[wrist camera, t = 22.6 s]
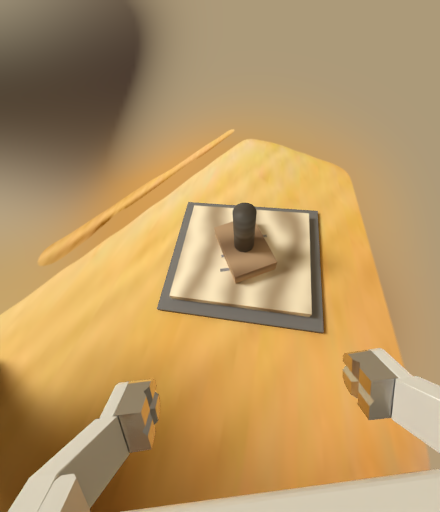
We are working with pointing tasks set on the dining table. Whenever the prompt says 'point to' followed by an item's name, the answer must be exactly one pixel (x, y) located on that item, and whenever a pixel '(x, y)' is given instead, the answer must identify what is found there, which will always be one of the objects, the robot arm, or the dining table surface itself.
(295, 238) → the board
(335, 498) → the robot arm
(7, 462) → the dining table surface
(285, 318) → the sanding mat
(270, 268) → the sanding block
